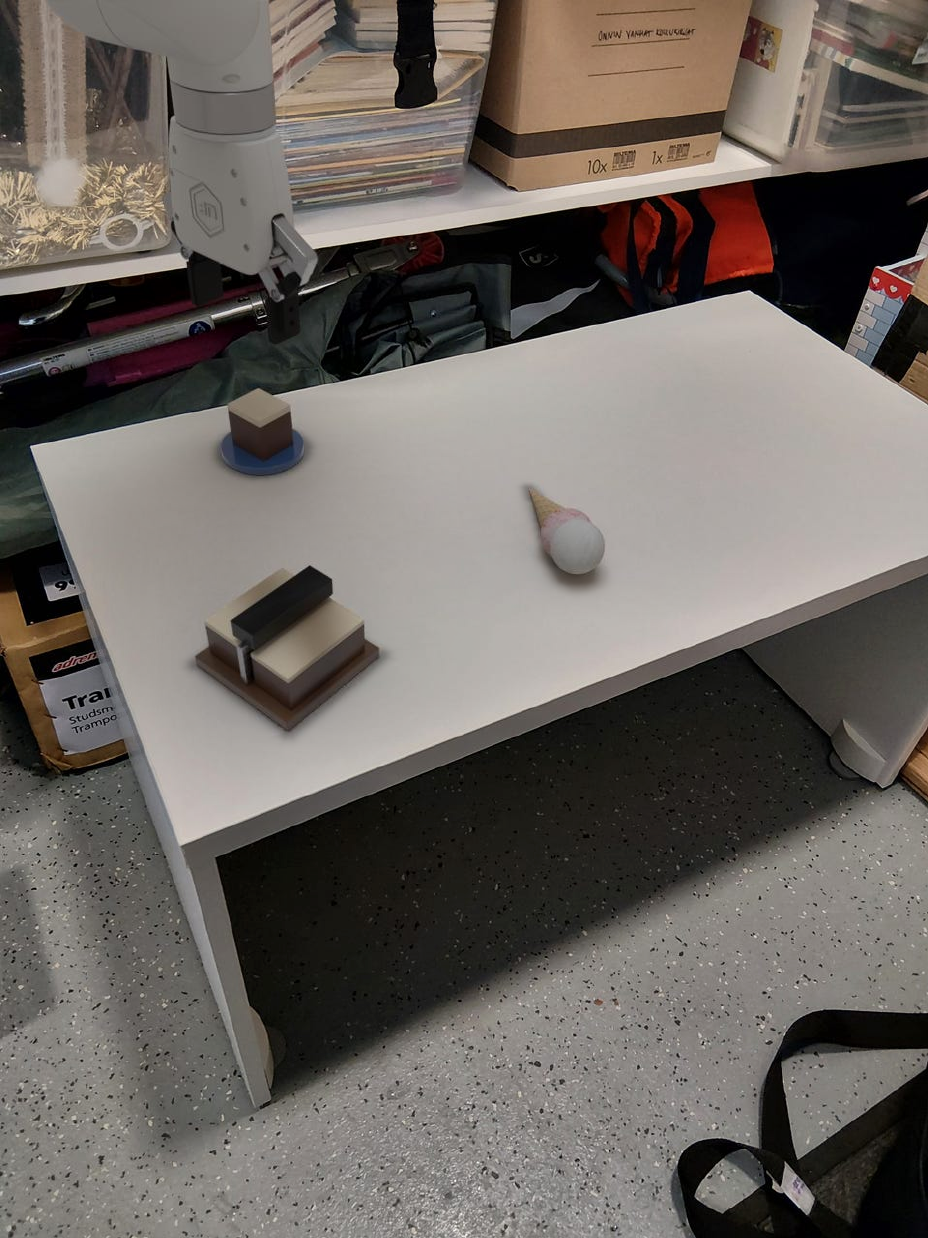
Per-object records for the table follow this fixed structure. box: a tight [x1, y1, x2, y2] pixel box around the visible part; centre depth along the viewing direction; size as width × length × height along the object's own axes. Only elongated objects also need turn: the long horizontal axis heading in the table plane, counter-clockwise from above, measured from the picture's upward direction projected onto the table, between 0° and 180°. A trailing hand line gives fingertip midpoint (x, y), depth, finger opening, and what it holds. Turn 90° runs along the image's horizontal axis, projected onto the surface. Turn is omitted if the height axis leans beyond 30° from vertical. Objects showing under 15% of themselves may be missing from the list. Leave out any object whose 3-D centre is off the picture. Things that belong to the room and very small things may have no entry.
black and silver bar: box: [231, 564, 334, 685], centre depth 70 cm, size 9×2×6 cm, turn 142°
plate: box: [220, 428, 305, 476], centre depth 92 cm, size 8×8×1 cm
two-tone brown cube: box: [227, 387, 293, 461], centre depth 91 cm, size 4×4×4 cm
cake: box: [194, 567, 380, 732], centre depth 72 cm, size 10×10×4 cm
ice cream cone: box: [528, 488, 606, 575], centre depth 85 cm, size 5×5×15 cm
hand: (245, 319), depth 82 cm, fingers open, 9 cm apart
